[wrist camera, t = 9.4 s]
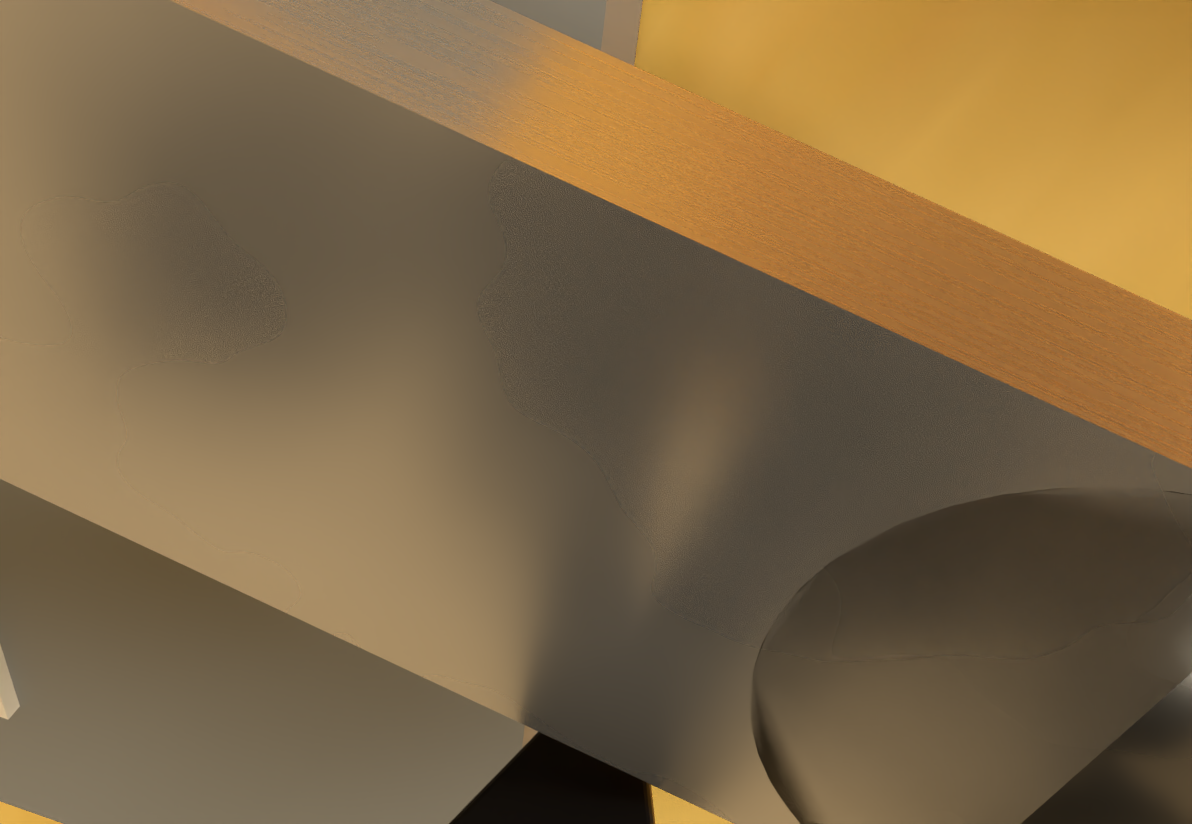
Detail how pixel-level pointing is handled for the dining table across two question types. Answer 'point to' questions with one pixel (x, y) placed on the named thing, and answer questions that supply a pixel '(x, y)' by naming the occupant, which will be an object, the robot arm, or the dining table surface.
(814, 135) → the dining table surface
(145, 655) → the label board
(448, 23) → the swing arm
